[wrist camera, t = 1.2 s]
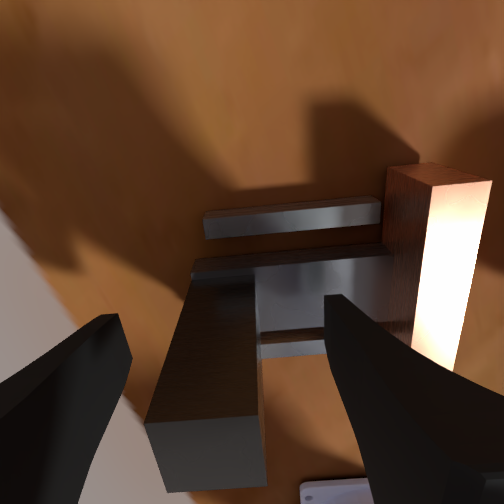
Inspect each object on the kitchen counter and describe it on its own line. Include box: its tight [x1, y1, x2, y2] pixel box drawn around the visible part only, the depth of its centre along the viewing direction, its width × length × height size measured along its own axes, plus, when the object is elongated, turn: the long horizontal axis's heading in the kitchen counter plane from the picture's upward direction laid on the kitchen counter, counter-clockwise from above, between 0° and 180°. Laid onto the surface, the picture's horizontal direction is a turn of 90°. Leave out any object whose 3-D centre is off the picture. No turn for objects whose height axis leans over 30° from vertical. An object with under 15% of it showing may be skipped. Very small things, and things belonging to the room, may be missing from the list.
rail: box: [203, 195, 381, 359], centre depth 14 cm, size 7×6×1 cm
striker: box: [144, 162, 492, 493], centre depth 10 cm, size 9×9×7 cm
